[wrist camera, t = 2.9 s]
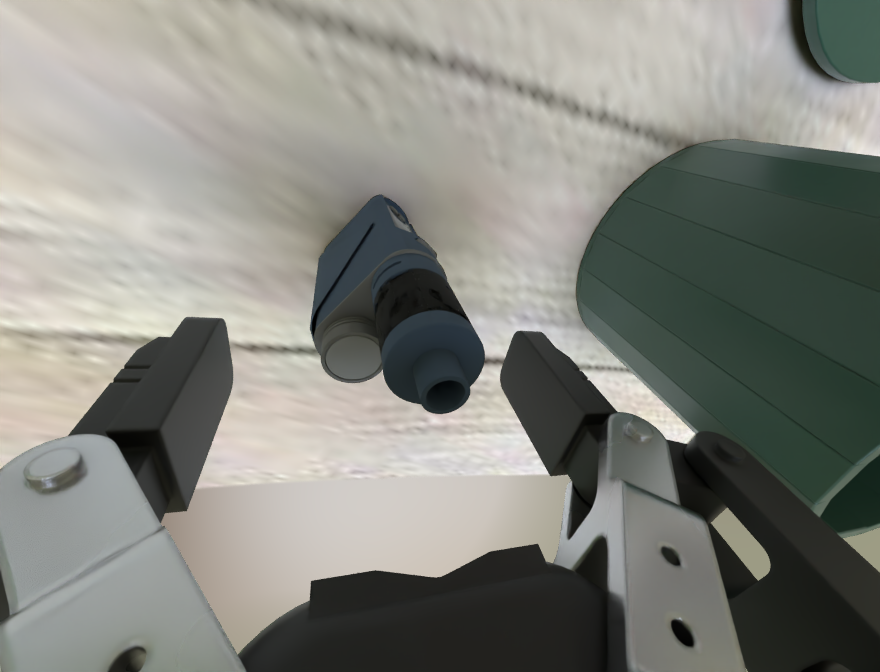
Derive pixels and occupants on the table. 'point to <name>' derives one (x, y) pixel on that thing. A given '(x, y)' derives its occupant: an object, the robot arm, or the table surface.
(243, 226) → the table surface
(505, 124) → the table surface
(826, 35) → the lid
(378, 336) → the vaping device
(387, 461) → the table surface
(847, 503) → the tin
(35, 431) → the table surface
